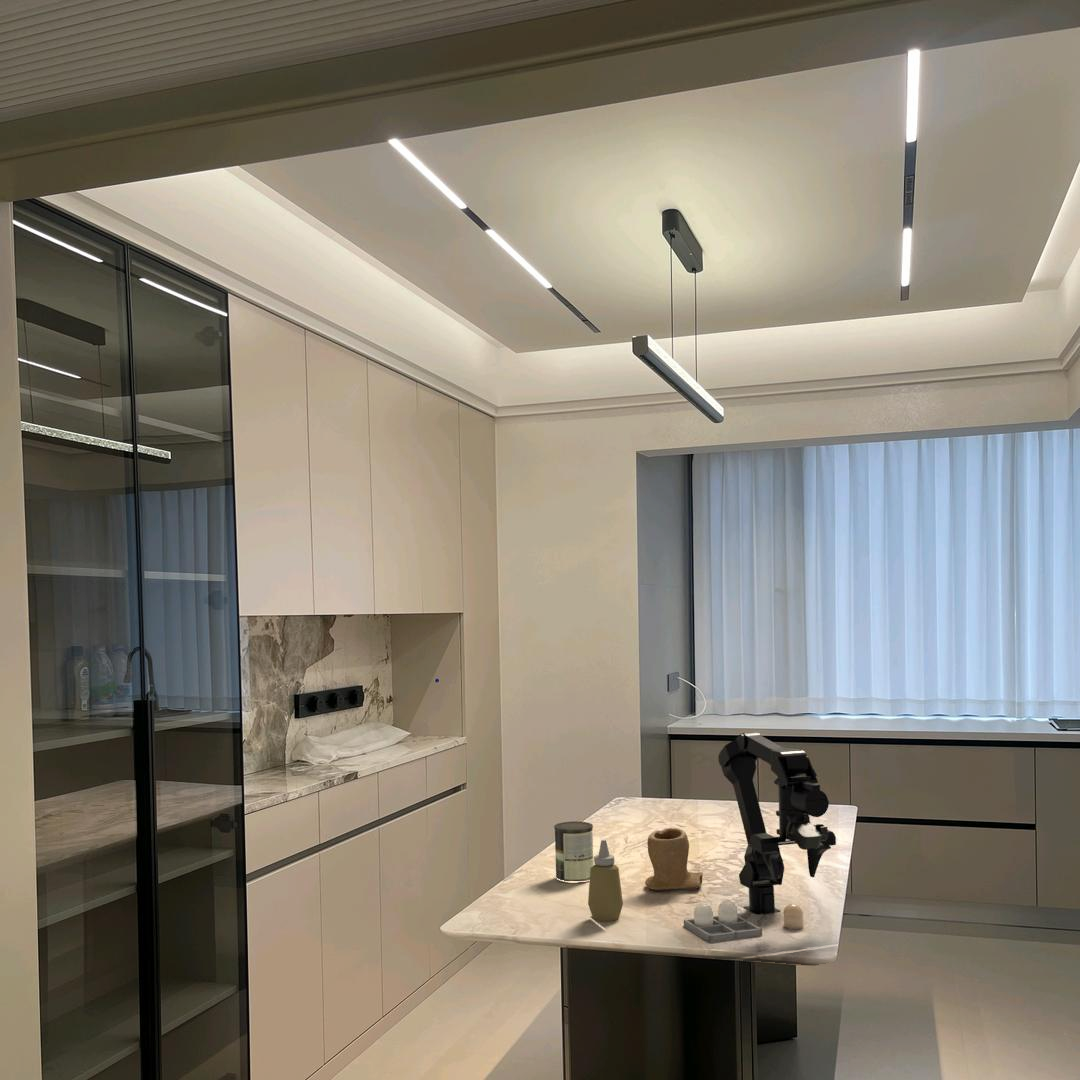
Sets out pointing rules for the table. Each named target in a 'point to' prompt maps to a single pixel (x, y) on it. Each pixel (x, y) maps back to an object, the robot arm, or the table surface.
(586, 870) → the coffee can
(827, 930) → the table surface
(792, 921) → the brown egg
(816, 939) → the table surface
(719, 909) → the white egg left
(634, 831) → the table surface
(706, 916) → the white egg back
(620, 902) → the squeeze bottle
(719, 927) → the egg carton
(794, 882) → the table surface
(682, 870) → the stone cup
